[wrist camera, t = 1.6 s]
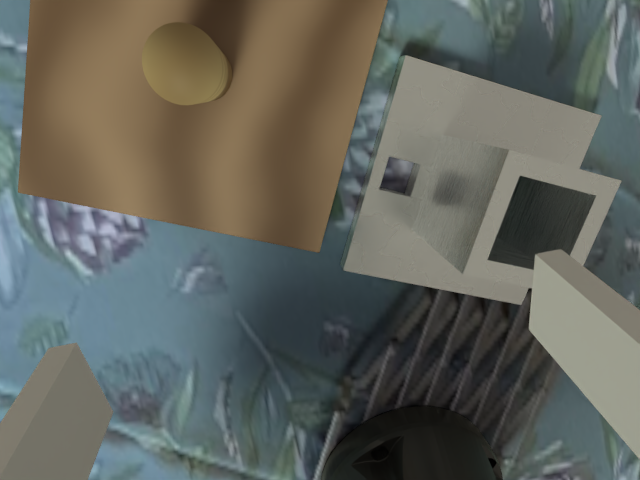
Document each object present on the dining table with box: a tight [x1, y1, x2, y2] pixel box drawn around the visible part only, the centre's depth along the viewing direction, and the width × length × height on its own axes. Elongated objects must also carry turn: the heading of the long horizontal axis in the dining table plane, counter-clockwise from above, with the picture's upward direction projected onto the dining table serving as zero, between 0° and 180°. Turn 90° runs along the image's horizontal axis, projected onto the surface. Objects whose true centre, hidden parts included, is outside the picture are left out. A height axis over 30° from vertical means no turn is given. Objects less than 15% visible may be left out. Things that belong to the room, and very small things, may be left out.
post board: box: [18, 0, 388, 253], centre depth 22 cm, size 18×18×10 cm
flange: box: [340, 55, 621, 305], centre depth 26 cm, size 14×14×9 cm
